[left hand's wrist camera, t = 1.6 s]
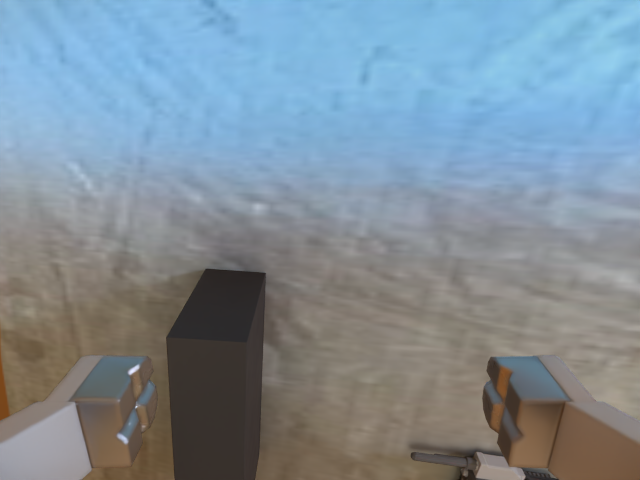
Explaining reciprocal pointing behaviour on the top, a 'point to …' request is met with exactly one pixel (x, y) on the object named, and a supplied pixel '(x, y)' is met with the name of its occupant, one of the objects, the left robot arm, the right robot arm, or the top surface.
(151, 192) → the top surface
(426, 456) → the walkie-talkie
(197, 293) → the box
